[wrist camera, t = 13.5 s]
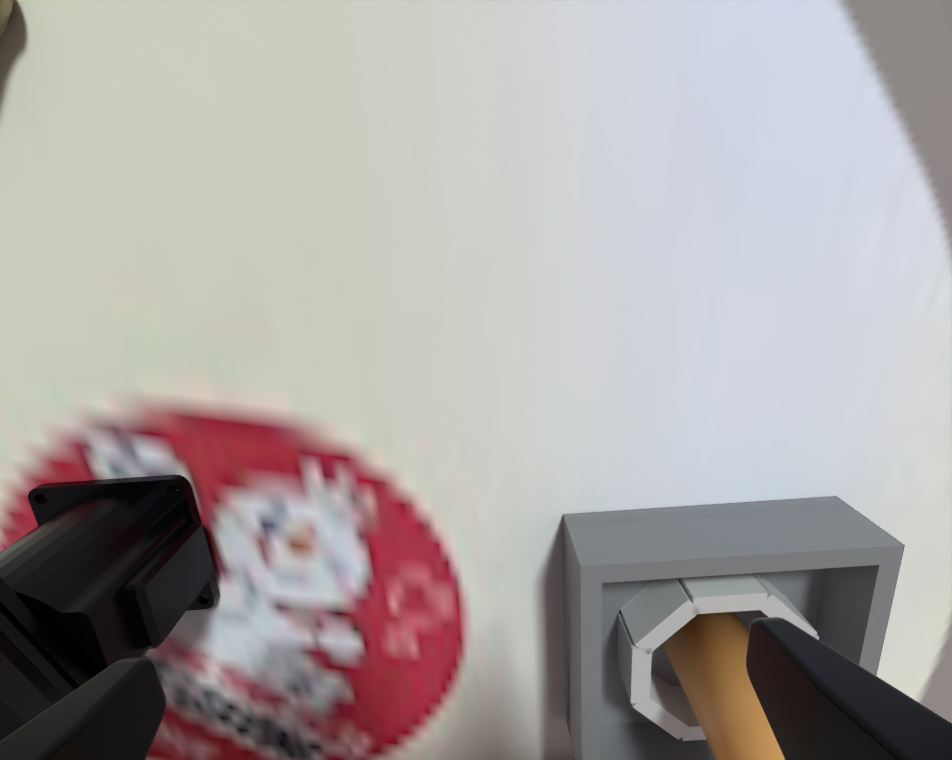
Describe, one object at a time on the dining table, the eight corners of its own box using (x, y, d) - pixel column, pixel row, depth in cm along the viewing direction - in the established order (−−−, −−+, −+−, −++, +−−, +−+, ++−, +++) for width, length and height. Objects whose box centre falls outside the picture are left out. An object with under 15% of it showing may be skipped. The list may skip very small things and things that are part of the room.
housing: (566, 719, 25) (582, 795, 22) (563, 514, 22) (580, 566, 18) (802, 705, 25) (853, 778, 22) (836, 496, 21) (904, 545, 18)
